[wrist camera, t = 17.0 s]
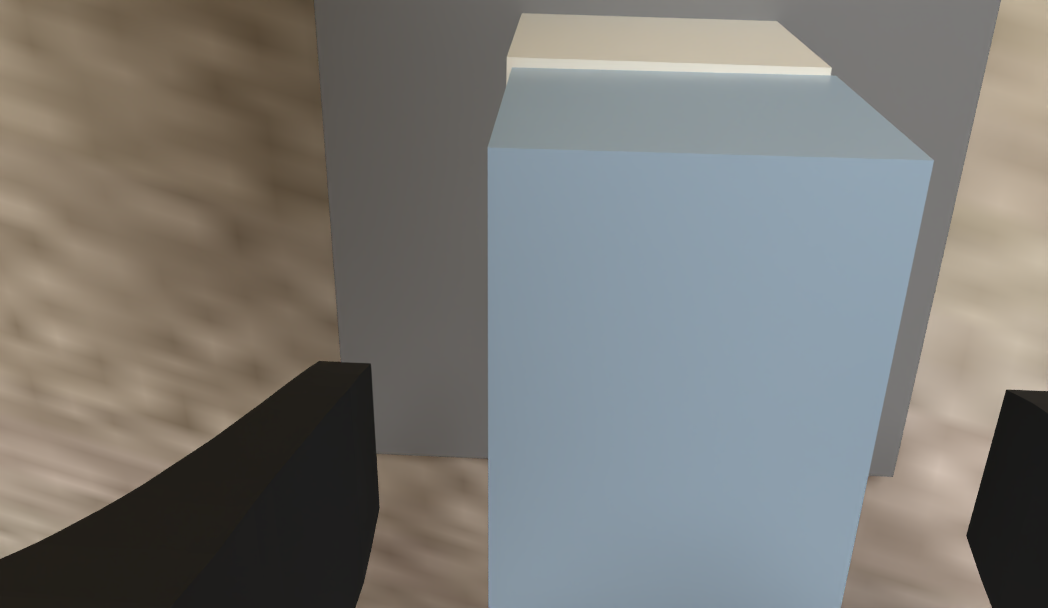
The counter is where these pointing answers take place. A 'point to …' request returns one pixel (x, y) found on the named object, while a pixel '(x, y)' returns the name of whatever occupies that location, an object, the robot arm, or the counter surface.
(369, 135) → the baseplate
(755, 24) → the cream brick
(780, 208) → the blue brick
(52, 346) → the counter surface
